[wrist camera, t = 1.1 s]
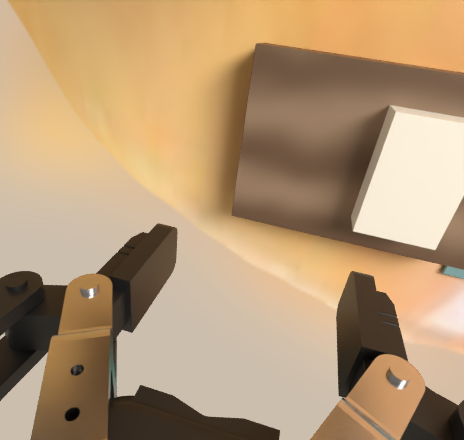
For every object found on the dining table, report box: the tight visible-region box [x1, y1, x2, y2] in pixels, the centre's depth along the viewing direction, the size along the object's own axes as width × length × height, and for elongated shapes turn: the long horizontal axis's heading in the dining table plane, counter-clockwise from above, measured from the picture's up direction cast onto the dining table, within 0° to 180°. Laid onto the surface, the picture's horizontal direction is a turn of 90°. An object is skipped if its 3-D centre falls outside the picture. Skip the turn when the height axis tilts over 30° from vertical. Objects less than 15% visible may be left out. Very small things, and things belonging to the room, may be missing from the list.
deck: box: [232, 43, 464, 270], centre depth 27 cm, size 14×20×4 cm
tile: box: [351, 105, 464, 250], centre depth 24 cm, size 9×6×2 cm, turn 172°
